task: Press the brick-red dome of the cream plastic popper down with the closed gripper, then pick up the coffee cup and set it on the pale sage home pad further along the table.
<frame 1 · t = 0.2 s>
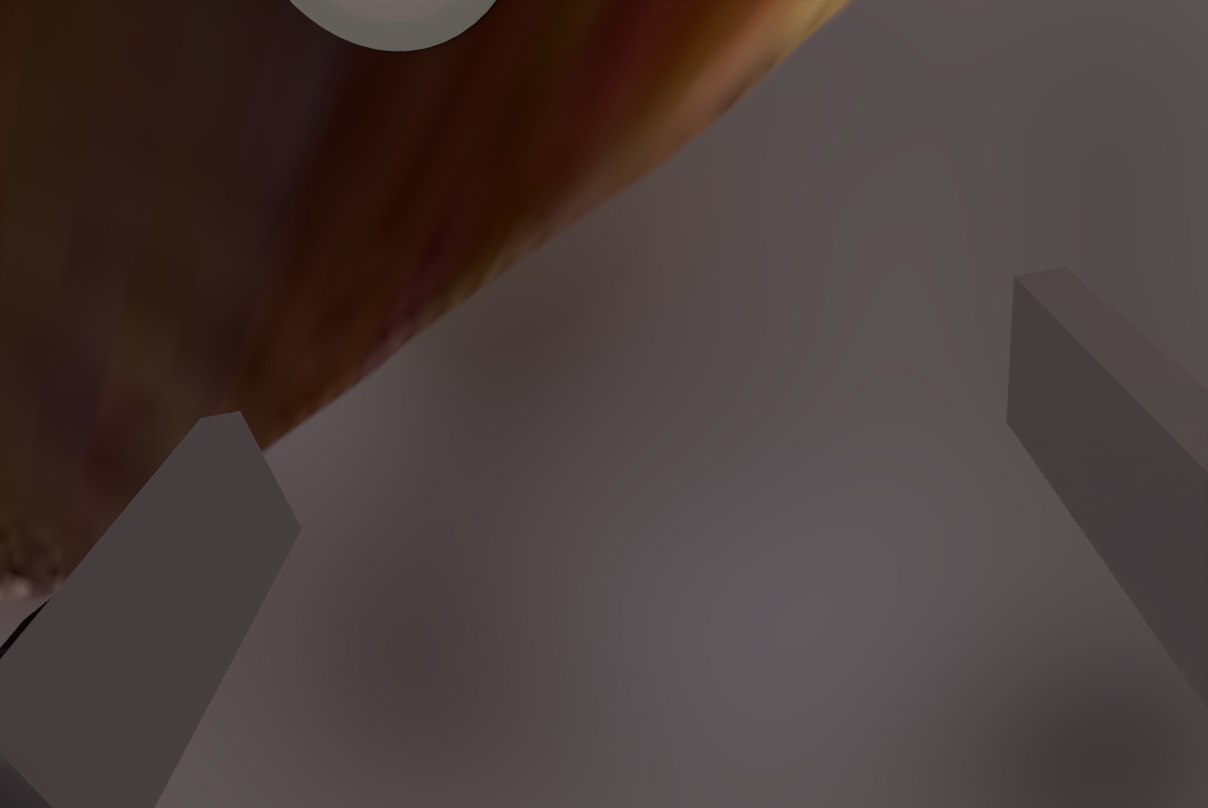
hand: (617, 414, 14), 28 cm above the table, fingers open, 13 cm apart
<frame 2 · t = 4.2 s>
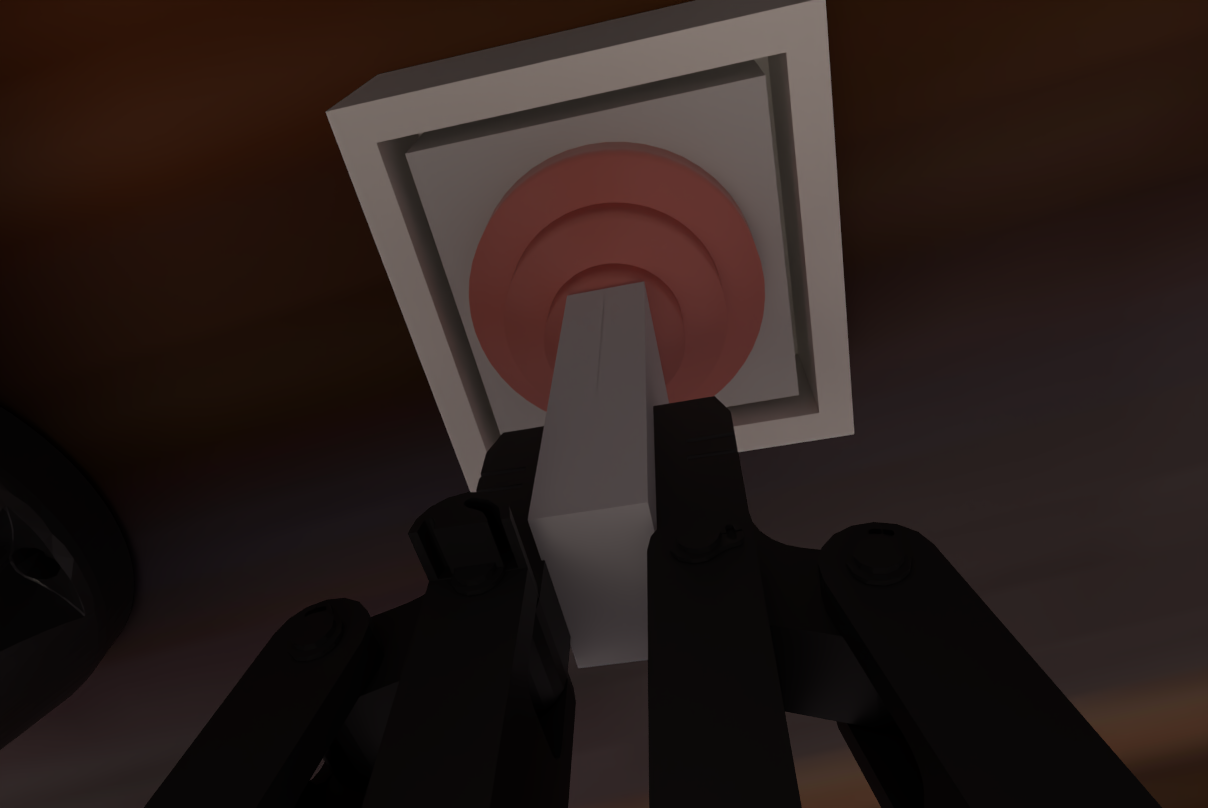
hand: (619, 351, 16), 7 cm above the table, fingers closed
popper housing: (619, 227, 22), on the table
dome plunger: (616, 292, 18), point 4 cm above the table, slide at 0.7 cm, touching gripper
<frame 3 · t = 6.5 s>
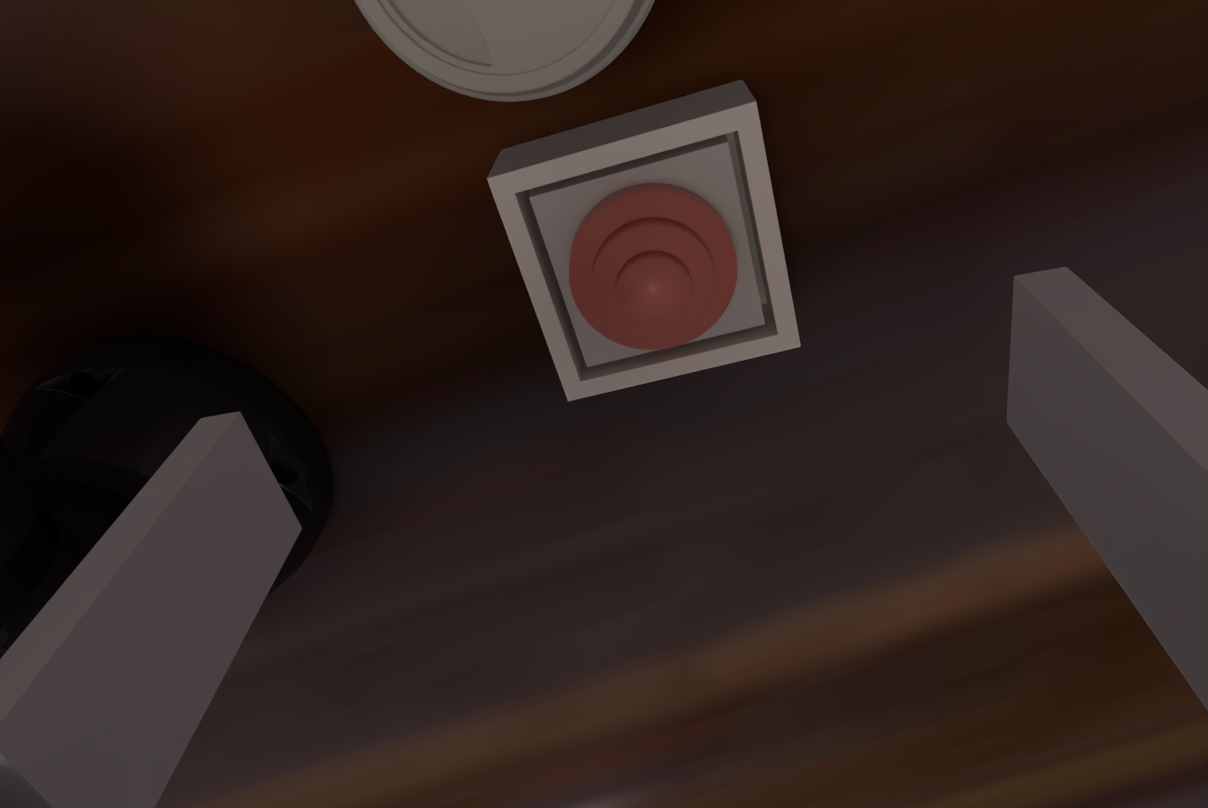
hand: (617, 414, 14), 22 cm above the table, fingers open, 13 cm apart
popper housing: (649, 231, 35), on the table
dome plunger: (652, 268, 32), point 4 cm above the table, slide at 0.8 cm
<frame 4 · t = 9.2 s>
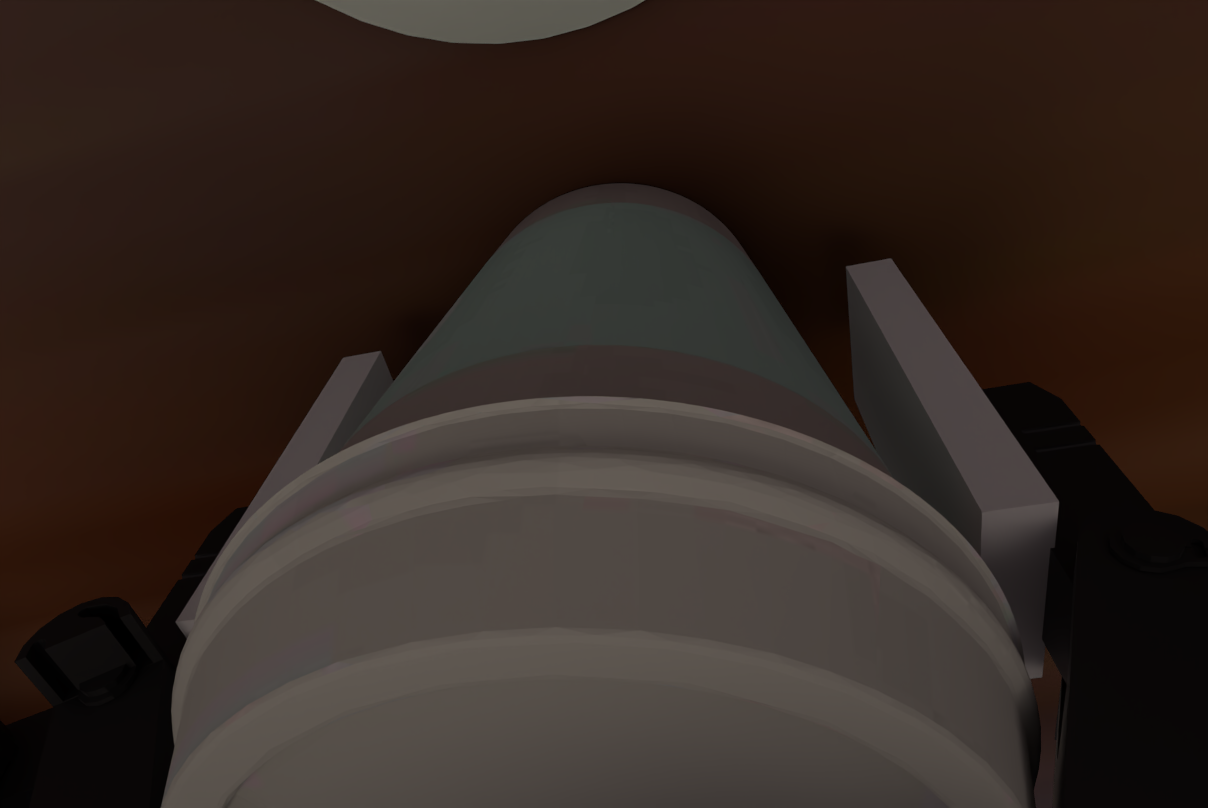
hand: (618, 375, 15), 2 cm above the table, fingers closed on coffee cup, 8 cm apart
coffee cup: (620, 314, 17), on the table, touching gripper
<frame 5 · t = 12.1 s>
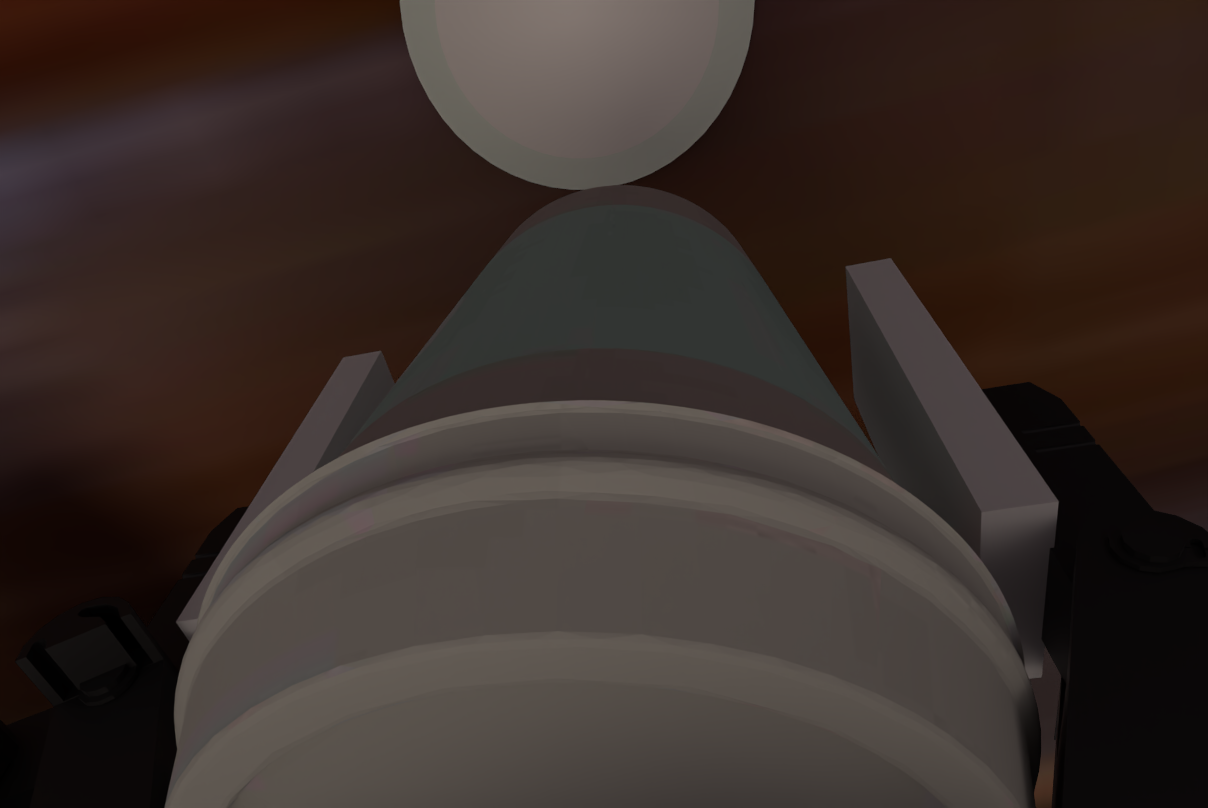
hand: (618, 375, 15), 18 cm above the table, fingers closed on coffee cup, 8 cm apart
home pad: (577, 13, 28), on the table
coffee cup: (621, 316, 17), point 15 cm above the table, touching gripper
when the fingers open (4 cm above the table, at t = 15.4 s): coffee cup drops 1 cm, resting on home pad.
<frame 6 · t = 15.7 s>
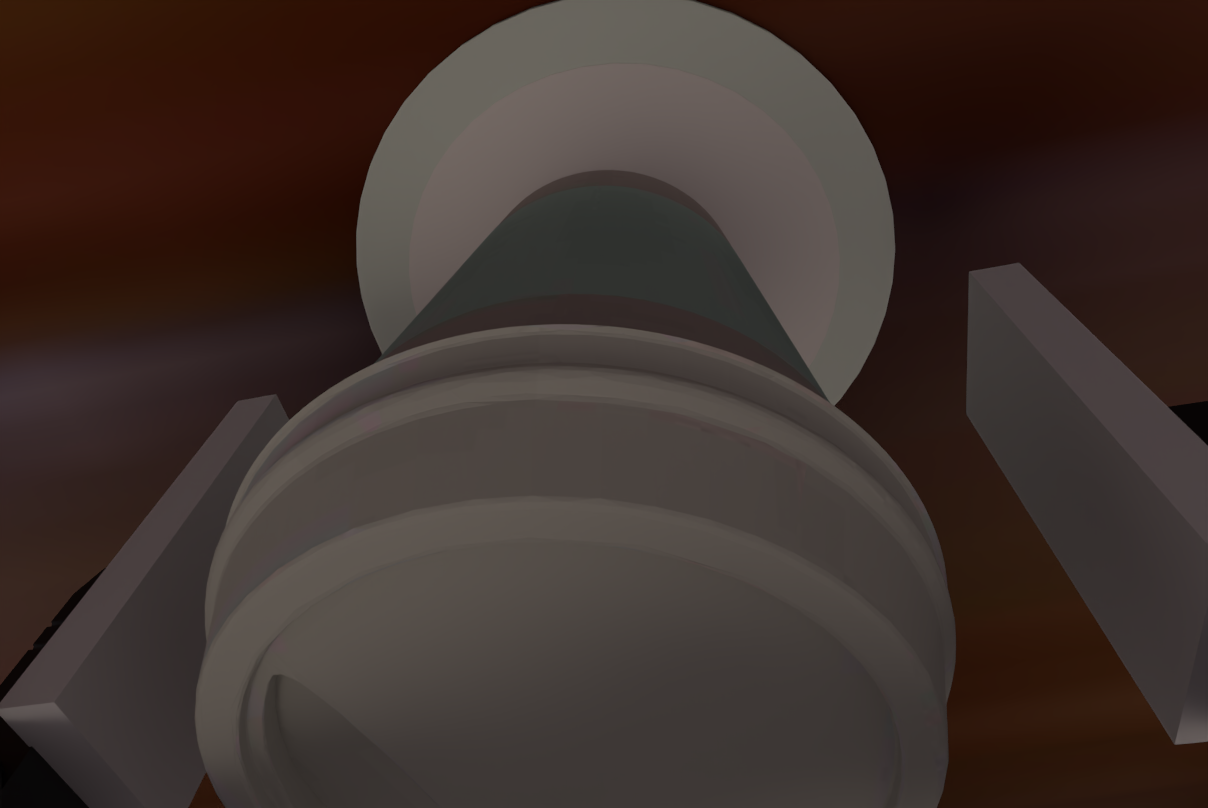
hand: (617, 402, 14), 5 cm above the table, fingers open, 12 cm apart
home pad: (622, 281, 19), on the table
coffee cup: (609, 294, 19), resting on home pad
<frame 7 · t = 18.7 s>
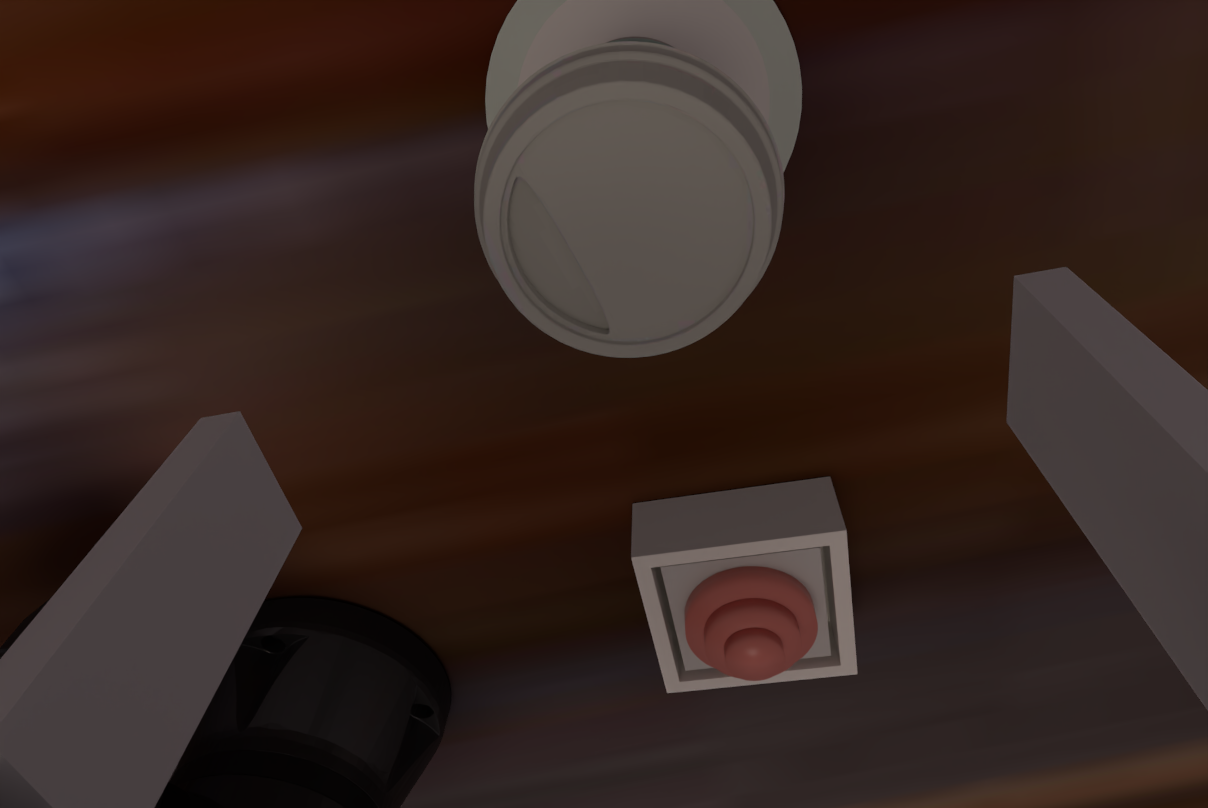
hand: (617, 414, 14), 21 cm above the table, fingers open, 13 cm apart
popper housing: (741, 561, 44), on the table
dome plunger: (749, 620, 40), point 4 cm above the table, slide at 0.8 cm
home pad: (642, 111, 31), on the table
coffee cup: (634, 117, 31), resting on home pad
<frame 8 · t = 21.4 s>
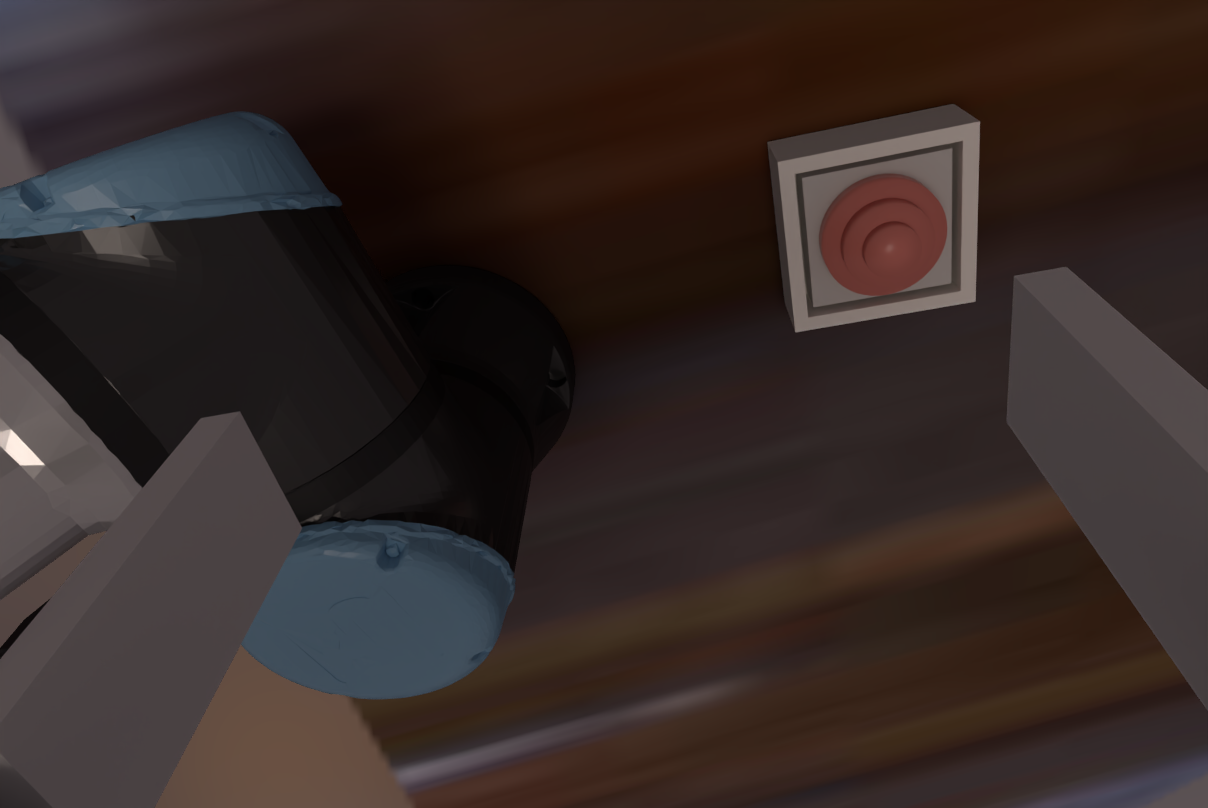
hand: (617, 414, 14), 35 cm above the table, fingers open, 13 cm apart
popper housing: (863, 210, 47), on the table
dome plunger: (881, 235, 44), point 4 cm above the table, slide at 0.8 cm
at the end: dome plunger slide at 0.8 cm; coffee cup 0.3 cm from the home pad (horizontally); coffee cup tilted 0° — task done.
